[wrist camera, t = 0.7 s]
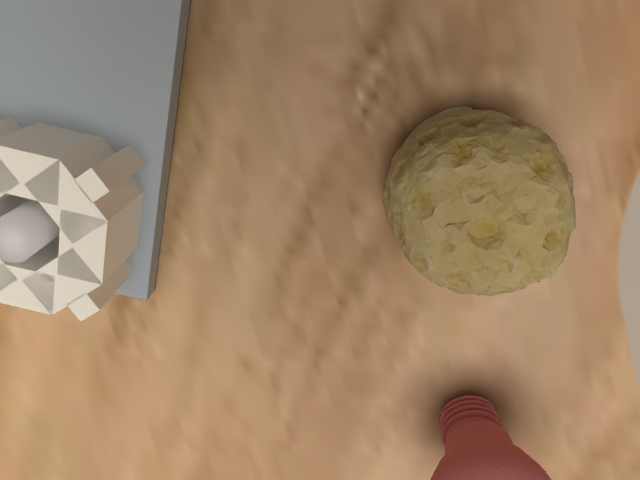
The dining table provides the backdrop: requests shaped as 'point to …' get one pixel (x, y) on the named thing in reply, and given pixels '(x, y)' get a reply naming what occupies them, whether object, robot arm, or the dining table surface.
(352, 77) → the dining table surface
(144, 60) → the gear board
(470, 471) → the light bulb
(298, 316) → the dining table surface
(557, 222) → the decorative item
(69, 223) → the gear
